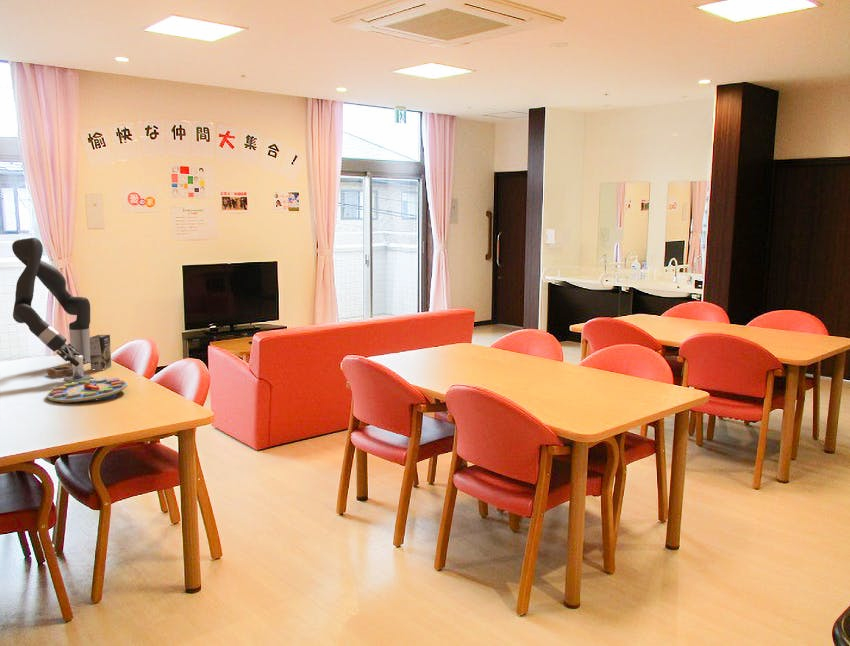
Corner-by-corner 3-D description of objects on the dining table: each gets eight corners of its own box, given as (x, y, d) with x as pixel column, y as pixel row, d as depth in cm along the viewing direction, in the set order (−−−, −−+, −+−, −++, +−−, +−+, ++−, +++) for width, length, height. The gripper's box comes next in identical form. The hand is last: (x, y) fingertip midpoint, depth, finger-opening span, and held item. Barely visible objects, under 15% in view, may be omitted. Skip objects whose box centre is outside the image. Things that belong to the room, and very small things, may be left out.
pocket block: (67, 371, 344) (66, 365, 344) (76, 374, 338) (76, 368, 338) (47, 375, 337) (47, 368, 337) (56, 377, 331) (56, 371, 331)
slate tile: (83, 376, 334) (83, 374, 334) (93, 379, 329) (93, 377, 329) (64, 380, 327) (64, 377, 327) (73, 383, 322) (73, 380, 322)
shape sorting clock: (47, 391, 308) (46, 377, 307) (124, 384, 322) (123, 371, 321) (46, 408, 281) (45, 393, 280) (131, 400, 295) (130, 386, 294)
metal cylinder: (80, 376, 331) (80, 354, 329) (85, 377, 328) (84, 356, 327) (71, 377, 327) (70, 355, 326) (75, 379, 325) (74, 357, 323)
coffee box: (103, 370, 348) (102, 337, 346) (90, 370, 348) (88, 337, 346) (112, 366, 357) (110, 334, 355) (99, 366, 357) (97, 334, 355)
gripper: (53, 335, 317) (82, 360, 320) (63, 330, 330) (91, 354, 334) (40, 347, 316) (70, 372, 320) (51, 342, 330) (79, 365, 334)
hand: (81, 363), depth 327 cm, fingers open, 8 cm apart
